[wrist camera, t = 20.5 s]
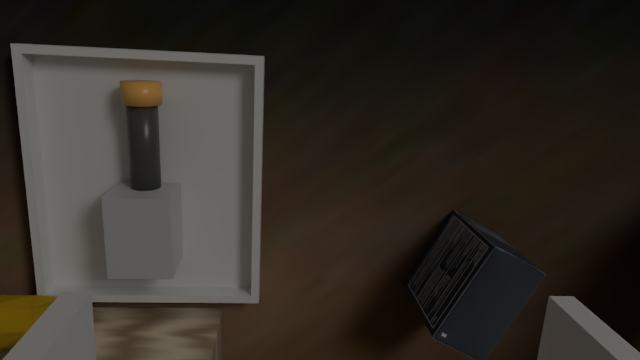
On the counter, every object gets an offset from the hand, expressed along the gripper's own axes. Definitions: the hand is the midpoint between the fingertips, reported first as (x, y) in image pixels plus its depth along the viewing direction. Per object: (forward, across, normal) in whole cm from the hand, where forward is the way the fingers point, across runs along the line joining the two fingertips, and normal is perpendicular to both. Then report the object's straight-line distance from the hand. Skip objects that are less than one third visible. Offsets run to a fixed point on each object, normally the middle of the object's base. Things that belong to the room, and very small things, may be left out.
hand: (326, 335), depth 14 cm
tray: (+37, -14, -6) cm, 40 cm away
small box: (+37, +18, -14) cm, 43 cm away
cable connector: (+36, -14, -5) cm, 39 cm away
